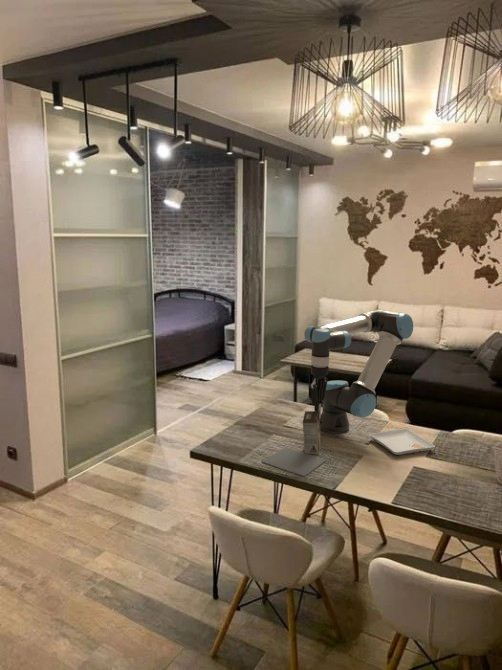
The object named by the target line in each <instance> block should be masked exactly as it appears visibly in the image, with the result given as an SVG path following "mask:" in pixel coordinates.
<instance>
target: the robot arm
mask: <svg viewBox="0 0 502 670" xmlns="http://www.w3.org/2000/svg"><path fill="white" fill-rule="evenodd" d="M370 332H371V333H377V334H378V339H377V341H376V343H375V346H374V348H373V350H372V351H371V353H370V355H369V357H368V359H367V361H366V363H365V365H364V367H363V369H362V371H361V373H360V375H359V376H358V379H357V380H356V381H353V382H352V384H351V385H350V386H349V381H347V380H339V379H338V380H329V378H327V377H326V376H328V375H329V366H330V351H336V350H342V349H343V350H344V349H345V348H348V347H350V345H351V343H352V335H355V334H358V333H363V334H367V333H370ZM413 332H414V321H413V318H412V317H411V315H409V314H408V313H404V312H401V311H393V310H386V309H376V310H371V311H367V312H363V313H360V314H358V315H357V316H355V317H352V318H347V319H344V320H340V321H336V322H332V323H328V324H324V325H320V326H316V325H309V326H307V327H306V329H305V330H304V335H303V336H304V339H305V341H306V342H309V343H311V356H310V360H311V361H310V374H311V375H312V376H313V377H312V383H309V385H308V387H309V388H310V389H309V390H310V398H311V403H312V404H314V408H313V409H314V410H313V411H319V416H320V431H321V430H322V431H324V432H327V433H334V434H335V433H337V434H339V433H345V432H347V431H349V430H350V421H349V418H348V417H349V416H348V415H351V416H352V415H353V417H357V418H362V419H363V418H367V417H369V416H371V414H372V413H374V411H375V408H376V407H377V398H376V393H377V392H376V391H375V389H376V387H377V385H378V384H379V381H380V379H381V376H382V374H384V371H385V370H386V367H387V364H388V363H389V361H390V359H391V357H392V355H393V354H394V351H395V349H396V347H397V346H398V345H401V344H402V342H403V340H407V339H409V338H410V337H411V336H412V334H413Z"/></svg>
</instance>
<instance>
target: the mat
mask: <svg viewBox="0 0 502 670" xmlns="http://www.w3.org/2000/svg"><path fill="white" fill-rule="evenodd" d="M326 462H327V459H325V458H323V457H318V456H315V455H313V454H306V453H305V452H303V451H299V450H296V449H292V448H289V447H286V446H285V447H284V448H282V449H281V450H278V451H277V452H276V453H274V454H272V455H271V456H269V457H267V458H266V459H264V460H263V461H262V462H261V463H263V464H265V465H268V466H271V467H274V468H277V469H280V470H283V471H286V472H288V473H291V474H294V475H298V476H302V477H304V478H305V477H306V476H309V474H311V473H312V472H313V471H315V470H316V469H318V468H319V467H320V466H322V465H323V464H325V463H326Z"/></svg>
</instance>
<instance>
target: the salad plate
mask: <svg viewBox="0 0 502 670" xmlns="http://www.w3.org/2000/svg"><path fill="white" fill-rule="evenodd" d="M368 435H369V437H370V438H371V439H372V440H373V441H375V443H378V444H379V445H381V446H383V447H384V448H385V449H387V450H388V451H390V452H391V453H392V454H393V455H397V456H399V455H405V454H406V455H407V454H412V453H413V452H414V453H420V452H419V451H421V452H426V450H427V451H430V450H433V449H435V447H436V445H434V444H433V443H431V442H429V441H428V440H426V439H425V438H423V437H421V436H419V434H417V433H415V432H414V431H412V430H410V429H408V428H402V429H395V430H394V429H393V430H386V431H378V432H374V433H373V432H372V433H369V434H368ZM413 441H414V442H413ZM412 442H413V443H412ZM414 443H417V444H420V445H422V446H423V447H425V448H419V449H417V448H415V449H413V448H414V447H411V446H412V445H413V444H414ZM409 445H410V446H409Z"/></svg>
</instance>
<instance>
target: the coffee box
mask: <svg viewBox="0 0 502 670" xmlns="http://www.w3.org/2000/svg"><path fill="white" fill-rule="evenodd" d="M302 419H303V420H302V426H303V427H302V430H303V449H304V452H303V453H306V454H309V455H319V454H320V450H321V443H322V442H321V429H320V416H319V411H314V410H312V411H311V410H310V411H309V410H308V411H307V410H306V411H304V415H303V418H302Z"/></svg>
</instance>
